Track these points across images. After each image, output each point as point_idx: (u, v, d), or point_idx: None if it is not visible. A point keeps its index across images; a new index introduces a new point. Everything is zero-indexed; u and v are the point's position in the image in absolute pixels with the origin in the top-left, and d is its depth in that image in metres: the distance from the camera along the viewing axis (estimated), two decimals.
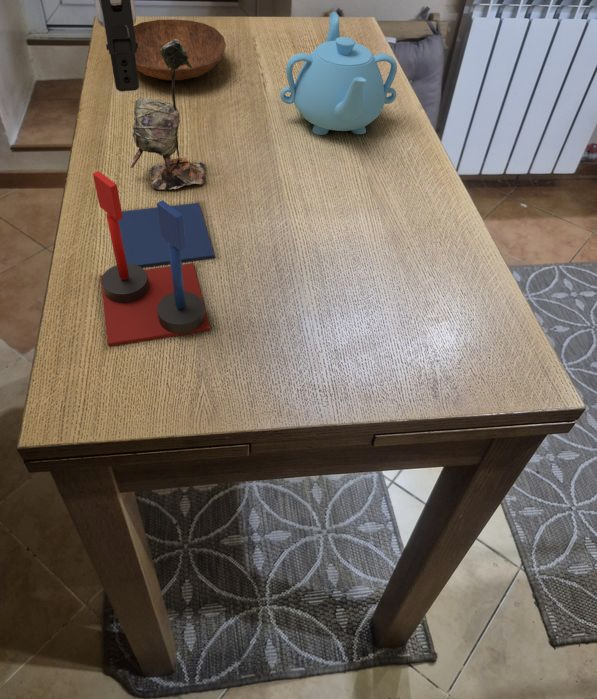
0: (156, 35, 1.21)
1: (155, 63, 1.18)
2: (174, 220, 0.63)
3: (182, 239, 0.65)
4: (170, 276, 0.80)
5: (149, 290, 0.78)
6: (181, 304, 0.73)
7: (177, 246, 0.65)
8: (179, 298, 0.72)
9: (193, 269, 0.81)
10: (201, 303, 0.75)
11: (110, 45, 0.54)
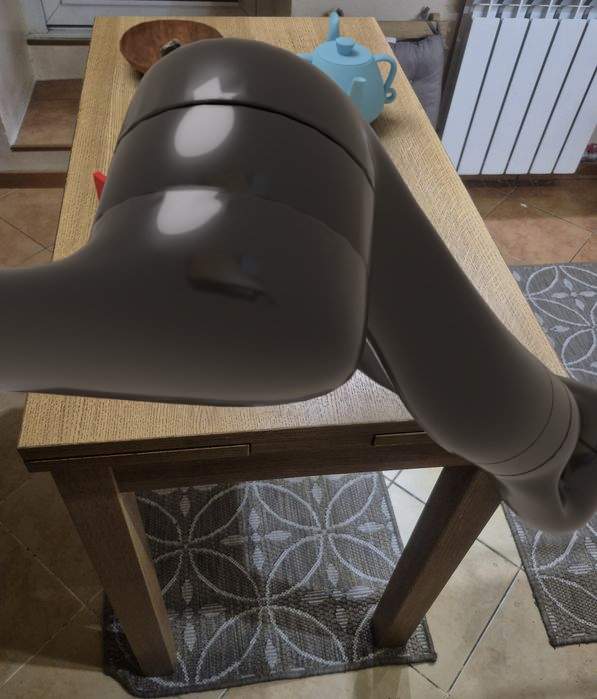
0: (156, 35, 1.21)
1: None
2: None
3: None
4: None
5: None
6: None
7: None
8: None
9: None
10: None
11: None
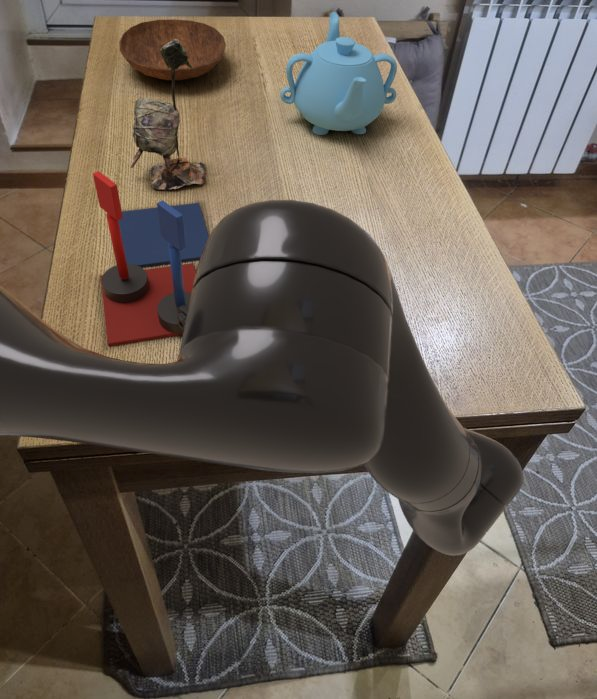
0: (156, 35, 1.21)
1: (155, 63, 1.18)
2: (174, 220, 0.63)
3: (182, 239, 0.65)
4: (170, 276, 0.80)
5: (149, 290, 0.78)
6: (181, 304, 0.73)
7: (177, 246, 0.65)
8: (179, 298, 0.72)
9: (193, 269, 0.81)
10: None
11: None
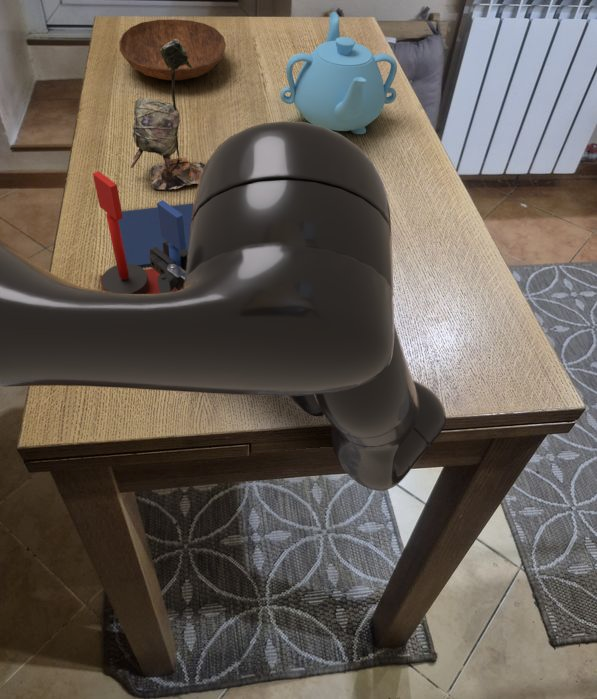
0: (156, 35, 1.21)
1: (155, 63, 1.18)
2: (174, 219, 0.63)
3: (182, 238, 0.65)
4: None
5: (149, 290, 0.78)
6: None
7: (177, 246, 0.65)
8: None
9: None
10: None
11: None
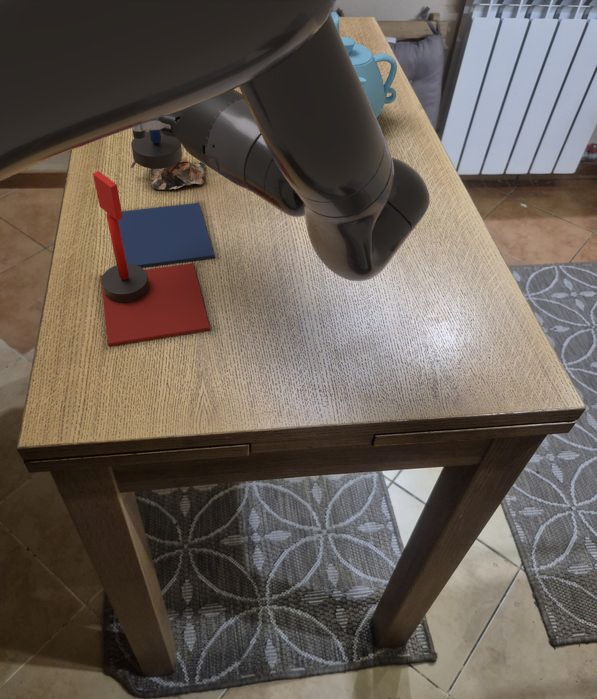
0: None
1: None
2: None
3: None
4: (170, 276, 0.80)
5: (149, 290, 0.78)
6: (156, 137, 0.69)
7: None
8: None
9: (193, 269, 0.81)
10: (178, 140, 0.71)
11: None
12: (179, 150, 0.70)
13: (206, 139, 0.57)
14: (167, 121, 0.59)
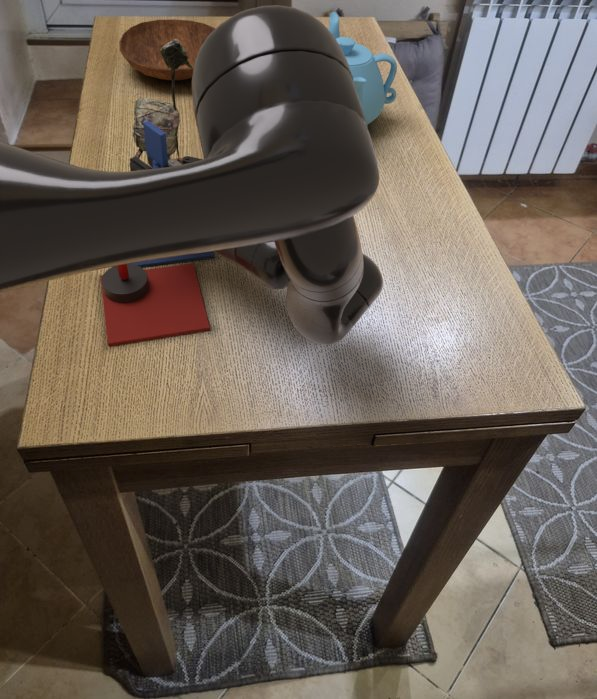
0: (156, 35, 1.21)
1: (155, 63, 1.18)
2: (158, 137, 0.73)
3: (164, 155, 0.74)
4: (170, 276, 0.80)
5: (149, 290, 0.78)
6: None
7: (160, 162, 0.75)
8: None
9: (193, 269, 0.81)
10: None
11: None
12: None
13: None
14: None
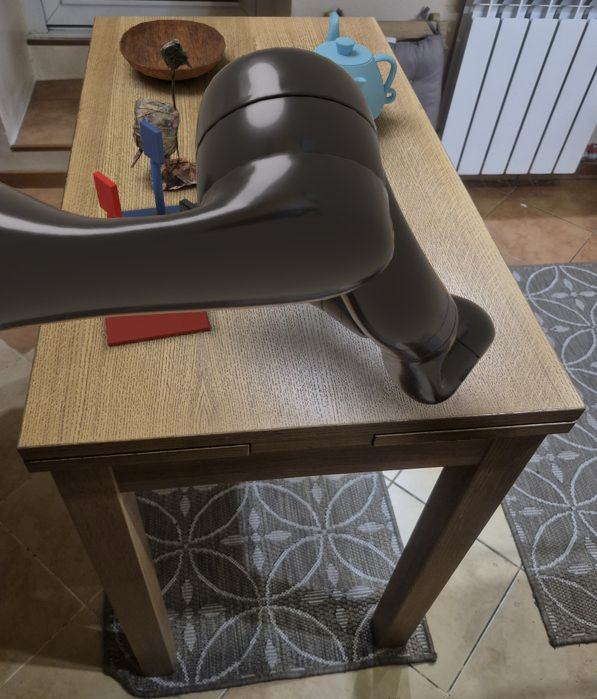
0: (156, 35, 1.21)
1: (155, 63, 1.18)
2: (154, 135, 0.73)
3: (161, 154, 0.75)
4: None
5: None
6: None
7: (157, 161, 0.76)
8: (161, 214, 0.82)
9: None
10: None
11: None
12: None
13: None
14: None
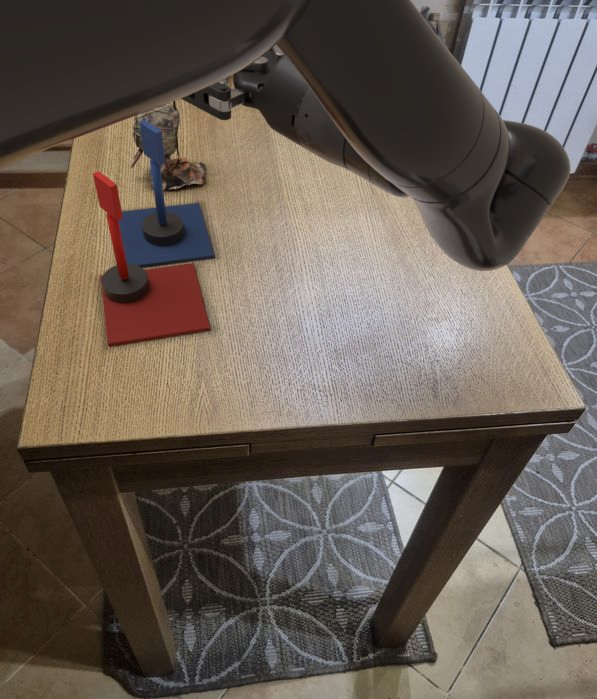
0: None
1: None
2: (154, 135, 0.73)
3: (161, 154, 0.75)
4: (170, 276, 0.80)
5: (149, 290, 0.78)
6: (163, 220, 0.83)
7: (157, 161, 0.76)
8: (161, 214, 0.82)
9: (193, 269, 0.81)
10: (181, 220, 0.85)
11: None
12: (182, 230, 0.84)
13: (297, 108, 0.49)
14: (248, 89, 0.52)
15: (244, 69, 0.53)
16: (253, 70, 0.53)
